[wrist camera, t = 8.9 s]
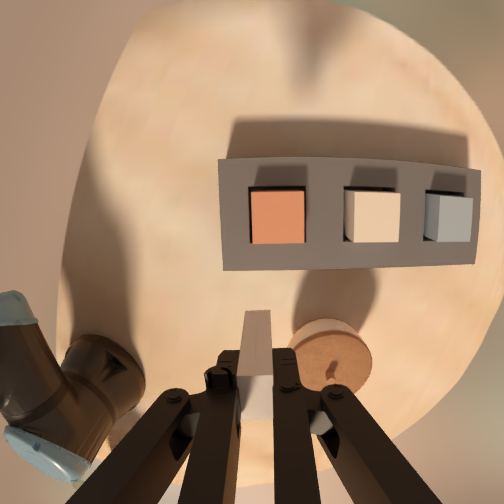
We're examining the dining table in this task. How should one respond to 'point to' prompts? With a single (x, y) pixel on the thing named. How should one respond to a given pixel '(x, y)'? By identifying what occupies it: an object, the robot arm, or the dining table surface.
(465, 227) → the grey cube
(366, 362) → the lidded jar
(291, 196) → the key terracotta
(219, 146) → the dining table surface
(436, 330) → the dining table surface
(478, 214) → the console
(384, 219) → the key ivory
